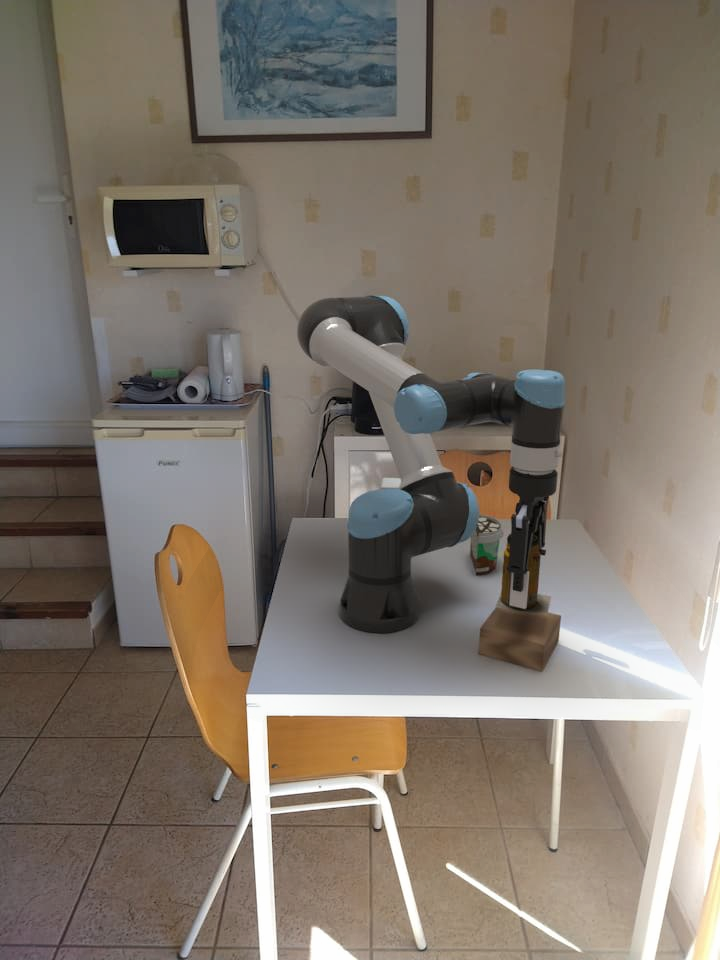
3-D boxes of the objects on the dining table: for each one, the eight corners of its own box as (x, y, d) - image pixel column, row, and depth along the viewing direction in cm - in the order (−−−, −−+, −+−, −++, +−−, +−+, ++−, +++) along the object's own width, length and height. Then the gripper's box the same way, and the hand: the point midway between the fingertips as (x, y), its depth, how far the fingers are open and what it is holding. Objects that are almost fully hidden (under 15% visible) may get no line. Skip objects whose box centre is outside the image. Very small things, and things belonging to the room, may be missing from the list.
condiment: (502, 589, 126) (506, 526, 123) (551, 597, 124) (557, 533, 120) (495, 608, 120) (499, 542, 116) (547, 616, 117) (553, 549, 113)
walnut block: (478, 653, 123) (480, 628, 121) (498, 625, 132) (500, 601, 130) (542, 671, 118) (544, 644, 116) (558, 640, 127) (561, 615, 125)
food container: (505, 578, 150) (508, 534, 147) (476, 578, 150) (478, 534, 147) (496, 554, 162) (499, 513, 159) (469, 554, 162) (471, 513, 159)
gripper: (541, 488, 105) (529, 628, 112) (571, 456, 121) (559, 580, 128) (491, 481, 108) (484, 616, 115) (527, 450, 124) (518, 571, 131)
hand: (523, 597), depth 121 cm, fingers closed on condiment, 6 cm apart
